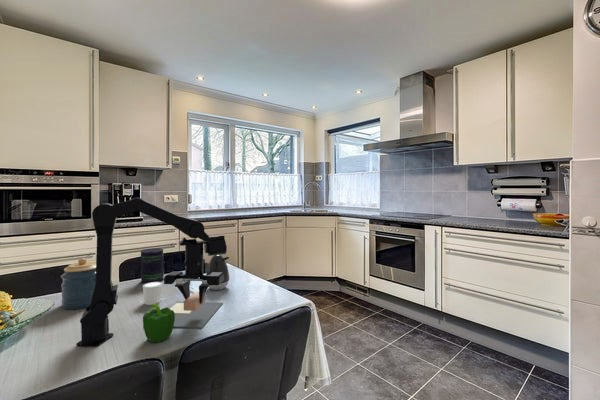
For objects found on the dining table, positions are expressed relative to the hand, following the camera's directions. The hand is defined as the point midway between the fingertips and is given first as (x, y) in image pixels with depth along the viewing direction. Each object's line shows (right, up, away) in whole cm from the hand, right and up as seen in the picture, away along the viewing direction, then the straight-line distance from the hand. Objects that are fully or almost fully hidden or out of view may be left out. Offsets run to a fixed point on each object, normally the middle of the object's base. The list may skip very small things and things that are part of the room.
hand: (194, 303), depth 97 cm
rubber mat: (-4, -5, +4) cm, 8 cm away
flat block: (0, -1, 0) cm, 1 cm away
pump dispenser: (-1, -5, +31) cm, 32 cm away
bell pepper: (-6, -6, -12) cm, 15 cm away
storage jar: (-36, -4, +41) cm, 55 cm away
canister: (-48, -5, +14) cm, 51 cm away
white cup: (-22, -5, +16) cm, 28 cm away
